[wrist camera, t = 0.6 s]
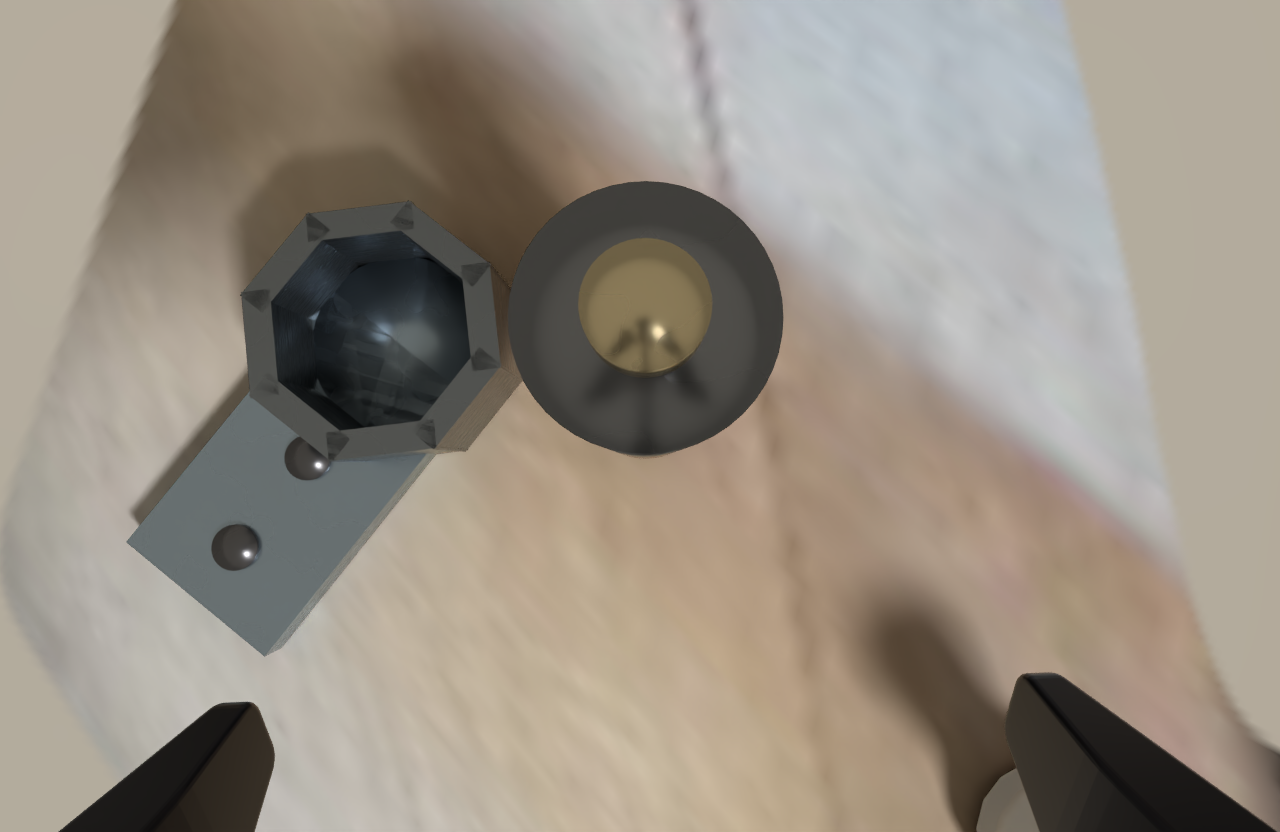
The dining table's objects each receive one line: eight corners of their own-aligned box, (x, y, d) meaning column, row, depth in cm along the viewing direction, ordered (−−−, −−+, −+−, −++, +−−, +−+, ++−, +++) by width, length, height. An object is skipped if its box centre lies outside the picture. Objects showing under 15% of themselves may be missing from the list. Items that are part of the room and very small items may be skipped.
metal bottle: (656, 483, 23) (671, 514, 9) (559, 407, 23) (435, 329, 10) (732, 386, 23) (854, 277, 10) (635, 311, 24) (619, 101, 10)
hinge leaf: (298, 662, 23) (236, 698, 19) (131, 524, 23) (40, 535, 20) (562, 330, 24) (548, 308, 20) (396, 200, 24) (353, 156, 20)
